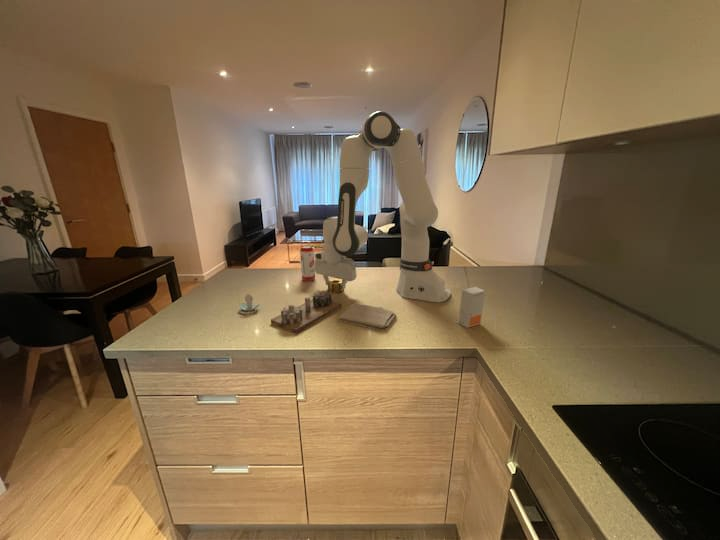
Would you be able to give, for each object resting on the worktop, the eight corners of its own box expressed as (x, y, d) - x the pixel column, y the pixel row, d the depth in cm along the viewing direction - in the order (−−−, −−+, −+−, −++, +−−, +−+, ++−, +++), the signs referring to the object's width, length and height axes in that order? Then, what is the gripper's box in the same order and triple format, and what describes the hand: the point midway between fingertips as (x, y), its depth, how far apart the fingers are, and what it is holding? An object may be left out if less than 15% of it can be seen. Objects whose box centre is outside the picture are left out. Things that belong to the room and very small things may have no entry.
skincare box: (467, 328, 93) (472, 294, 89) (457, 323, 96) (461, 289, 93) (481, 324, 95) (485, 290, 92) (471, 319, 99) (475, 286, 95)
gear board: (341, 307, 108) (341, 291, 106) (296, 333, 90) (294, 314, 88) (317, 300, 115) (317, 285, 113) (271, 323, 97) (269, 305, 95)
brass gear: (346, 289, 126) (346, 280, 125) (337, 294, 121) (336, 285, 120) (334, 286, 130) (334, 278, 128) (324, 291, 124) (324, 282, 123)
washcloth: (386, 333, 91) (387, 324, 90) (336, 323, 98) (336, 314, 97) (397, 317, 101) (397, 309, 100) (351, 309, 108) (351, 301, 107)
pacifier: (253, 316, 103) (262, 308, 108) (251, 300, 101) (260, 293, 106) (235, 314, 104) (244, 307, 110) (232, 298, 102) (242, 291, 108)
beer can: (316, 277, 142) (314, 245, 137) (313, 281, 136) (311, 248, 131) (304, 276, 142) (301, 245, 138) (300, 281, 136) (297, 248, 132)
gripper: (359, 257, 117) (359, 289, 121) (321, 250, 128) (322, 280, 132) (350, 261, 112) (350, 294, 116) (311, 253, 123) (313, 284, 127)
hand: (335, 286), depth 125 cm, fingers closed on brass gear, 7 cm apart
